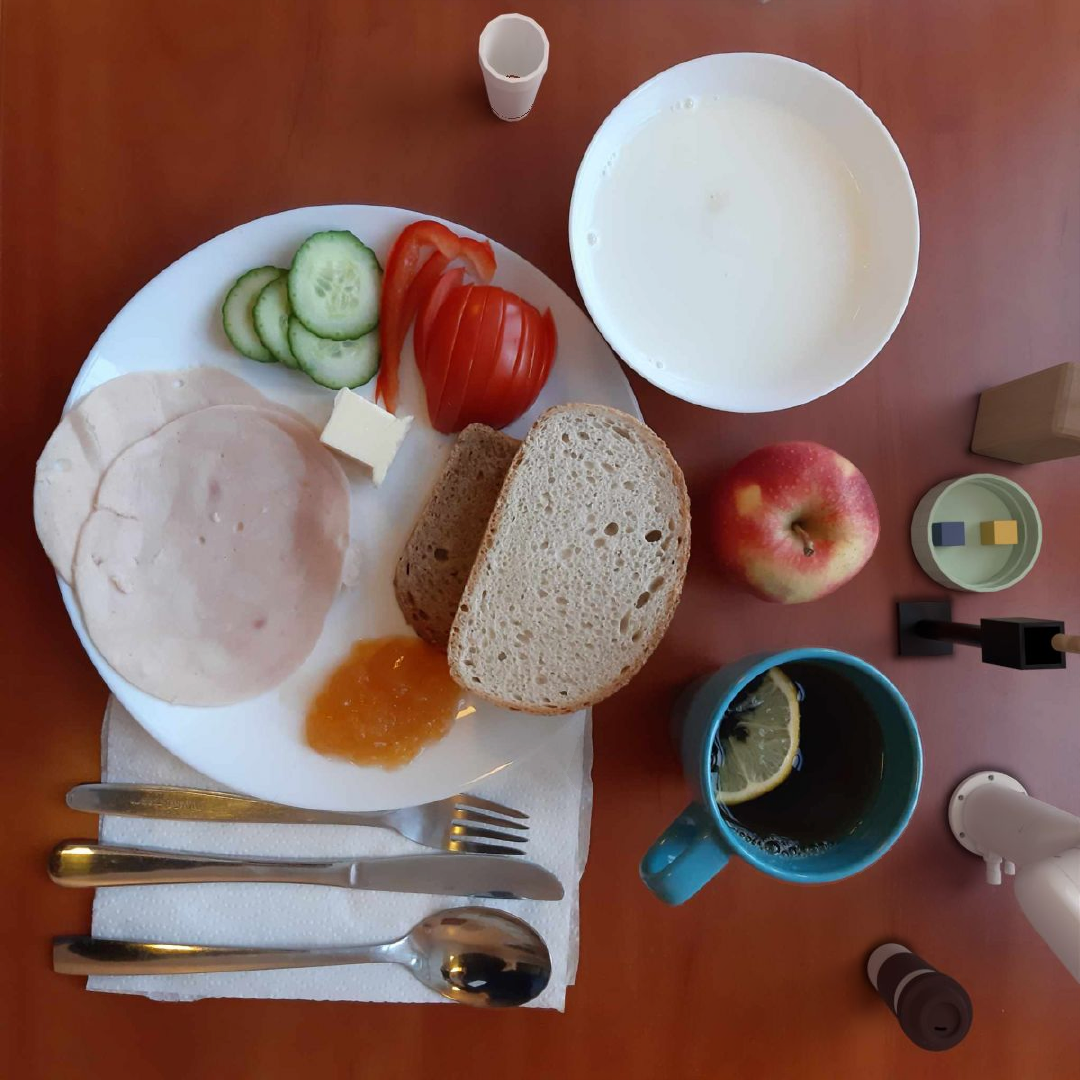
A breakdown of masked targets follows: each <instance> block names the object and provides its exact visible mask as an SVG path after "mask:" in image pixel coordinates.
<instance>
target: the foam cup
mask: <svg viewBox="0 0 1080 1080" xmlns="http://www.w3.org/2000/svg"><path fill="white" fill-rule="evenodd" d="M549 53H550V42H549V40H548V36H547V35H546V32H545V30H544V28H543V27H542V26H541V25H539V24H538V23H537V22H536V21H535V19H533V18H532V17H529V16H526V15H523V14H520V13H518V12H515V13H514V12H513V13H505V14H500V15H498V16H497V17H495V18H494V19H492V20H490V21H489V22H487V24H486V26H485V27H484V29H483V30H482V32H481V34H480V35H479V45H478V63H479V66H480V69H481V71H482V75H483V80H484V84H485V88H486V93H487V97H488V101H489V104H490V107H491V110H492V112H493V113H494V114H495V115H496V116H497V117H498V118H499V119H500V120H503V121H506V122H509V123H510V122H519V121H520V120H522V119H524V118H525V117H527V116H528V115H529V112H530V111H531V110H532V108H533V105H534V103H535V99H536V97H537V94H538V91H539V90H540V89H539V88H540V86H541V83H542V80H543V77H544V75H545V74H546V72H547V70H548V64H549ZM507 75H508V76H510V75H514V76H518V77H520V78H514V77H510V78H509V77H506V76H507ZM532 104H533V105H532ZM531 106H532V107H531ZM492 108H493V109H494V110H495V111H496V112H497V113H498V114H499V115H498V114H497V113H496V112H495V111H494V110H493V109H492ZM529 109H530V110H529ZM528 111H529V112H528ZM527 112H528V113H527ZM525 113H527V114H525ZM524 114H525V115H524ZM522 115H524V116H522ZM502 116H503V117H502ZM521 116H522V117H521ZM505 117H506V118H505ZM516 117H520V118H516ZM508 118H516V119H508Z"/></svg>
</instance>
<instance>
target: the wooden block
mask: <svg viewBox="0 0 1080 1080" xmlns="http://www.w3.org/2000/svg"><path fill="white" fill-rule="evenodd" d="M971 451H972V452H973V453H974V454H977V455H981V456H985V457H990V458H994V459H1000V460H1004V461H1008V462H1012V463H1017V464H1021V465H1027V466H1029V465H1034V464H1039V463H1044V462H1045V463H1046V462H1051V461H1056V460H1061V459H1067V458H1073V457H1079V456H1080V362H1075V361H1071V360H1070V361H1064V362H1063V363H1059V364H1056V365H1054V366H1050V367H1047V368H1045V369H1042V370H1039V371H1036V372H1033V373H1030V374H1027V375H1024V376H1021V377H1019V378H1016V379H1013V380H1011V381H1010V380H1009V381H1007V382H1004V383H1001V384H999V385H995V386H992V387H989V388H987V389H985V390H983V391H982V392H981V394H980V398H979V402H978V409H977V413H976V419H975V425H974V430H973V436H972V441H971Z"/></svg>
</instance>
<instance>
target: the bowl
mask: <svg viewBox="0 0 1080 1080" xmlns="http://www.w3.org/2000/svg"><path fill="white" fill-rule="evenodd" d="M1009 520H1017V541H1018V544H1005V545H981V524H980V522H986V521H1009ZM937 522H964V528H965V545H963V546H933V543H932V528H931V527H932V523H937ZM910 538H911V539H910V540H911V546H912V549H913V552H914V556H915V558H916V560H917V562H918V563H919V565H920V567H921V569H922V570H923V571H924V572H925V573H926V574H927V575H928V577H930V578H931V579H932V580H933V581H934V582H936V583H938V584H940V585H941V586H943V587H945V588H947V589H951V590H954V591H958V592H970V593H995V592H999V591H1002V590H1005V589H1009V588H1011V587H1012V586H1014V585H1015V584H1017V583H1018V582H1020V581H1021V580H1022V579H1024V578H1025V577H1026V576H1027V574H1028V573H1029V572H1030V571H1031V570H1032V569H1033V568H1034V565H1035V564H1036V561H1037V560H1038V557H1039V555H1040V551H1041V546H1042V542H1043V524H1042V519H1041V517H1040V513H1039V510H1038V508H1037V506H1036V504H1035V503H1034V501H1033V499H1032V498H1031V496H1030V494H1028V493H1027V492H1026V491H1025V490H1024V489H1023V488H1022V487H1021V486H1020V485H1019V484H1018V483H1016V482H1015V481H1012V480H1011V479H1009V478H1007V477H1006V476H1001V475H998V474H994V473H972V474H966V475H962V476H956V477H953V478H950V479H946V480H943V481H941V482H940V483H938V484H937V485H935V486H934V487H932V488H931V489H929V490H928V491H927V493H925V495H924V496H923V497H922V498H921V499H920V501H919V503H918V505H917V506H916V509H915V510H914V512H913V517H912V521H911V526H910Z"/></svg>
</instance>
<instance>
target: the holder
mask: <svg viewBox="0 0 1080 1080" xmlns="http://www.w3.org/2000/svg"><path fill="white" fill-rule="evenodd" d="M895 606H896V607H895V608H896V630H897V632H896V633H897V655H898V656H899V657H917V656H942V655H943V656H945V655H946V656H948V655H954V648H953V647H954V646H953V644H954V645H959V646H960V645H961V646H967V647H973V648H978V649H980V651H981V663H983V664H988V665H992V666H998V667H1004V668H1008V669H1013V670H1018V671H1040V670H1042V671H1043V670H1065V669H1067V656H1066V655H1067V652H1062V651H1057V650H1055V649H1054V648H1053V646H1052V643H1051V641H1052V638H1053V637H1054V636H1055V635H1056V634H1066V628H1065V627H1066V626H1065V625H1066V624H1065V621H1064V620H1055V619H1047V618H1046V619H1045V618H1036V617H1026V616H1025V617H1024V616H1017V617H1016V616H1015V617H1013V616H1012V617H984V618H982V617H981V618H979V622H980V623H979V624H975V623H965V622H959V621H958V622H957V621H952V601H951V600H929V601H927V600H926V601H925V600H923V601H896V605H895Z"/></svg>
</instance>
